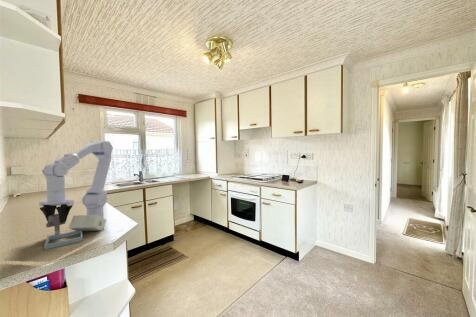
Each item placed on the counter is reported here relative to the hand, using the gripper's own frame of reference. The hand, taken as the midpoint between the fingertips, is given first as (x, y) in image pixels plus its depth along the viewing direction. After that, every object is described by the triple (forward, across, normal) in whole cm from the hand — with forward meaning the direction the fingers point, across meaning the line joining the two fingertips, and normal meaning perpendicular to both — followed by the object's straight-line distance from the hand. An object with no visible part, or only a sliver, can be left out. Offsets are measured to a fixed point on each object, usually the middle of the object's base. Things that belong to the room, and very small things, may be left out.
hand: (57, 222), depth 85 cm
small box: (+2, +15, +6) cm, 17 cm away
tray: (+7, +9, -5) cm, 12 cm away
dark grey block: (+1, 0, 0) cm, 1 cm away
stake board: (+7, 0, +2) cm, 7 cm away
